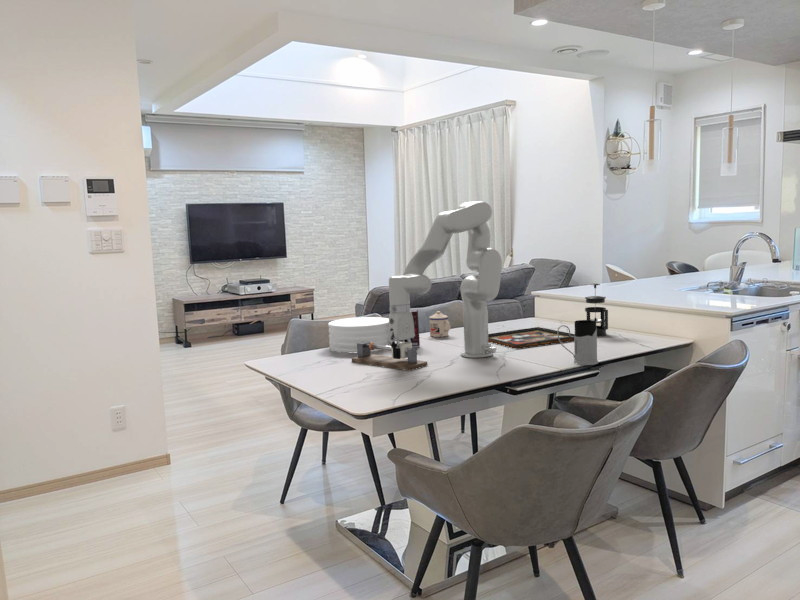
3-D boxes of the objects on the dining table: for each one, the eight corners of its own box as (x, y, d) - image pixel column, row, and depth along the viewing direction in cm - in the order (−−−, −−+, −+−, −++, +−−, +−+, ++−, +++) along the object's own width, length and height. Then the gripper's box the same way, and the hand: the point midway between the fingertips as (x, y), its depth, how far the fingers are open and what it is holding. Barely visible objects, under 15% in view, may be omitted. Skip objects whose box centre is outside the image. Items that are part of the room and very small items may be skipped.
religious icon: (532, 330, 305) (531, 324, 305) (588, 340, 275) (588, 333, 275) (469, 341, 285) (469, 335, 285) (523, 353, 256) (523, 346, 255)
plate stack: (319, 346, 285) (318, 321, 284) (375, 339, 299) (374, 315, 297) (345, 356, 261) (344, 328, 259) (404, 347, 274) (403, 321, 273)
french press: (579, 334, 287) (578, 283, 284) (593, 331, 292) (593, 282, 289) (599, 337, 277) (598, 285, 274) (614, 335, 282) (613, 283, 279)
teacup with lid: (425, 336, 300) (424, 311, 299) (439, 333, 306) (438, 309, 305) (443, 338, 291) (442, 313, 290) (457, 335, 297) (456, 311, 295)
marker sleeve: (412, 356, 236) (411, 342, 236) (403, 358, 233) (403, 345, 232) (400, 354, 240) (399, 341, 240) (391, 356, 236) (391, 343, 236)
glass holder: (599, 365, 224) (599, 323, 222) (558, 365, 226) (557, 323, 225) (596, 359, 232) (596, 319, 231) (557, 360, 235) (556, 320, 233)
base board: (427, 365, 235) (427, 361, 235) (410, 370, 228) (409, 366, 228) (369, 357, 255) (369, 353, 255) (351, 361, 248) (351, 358, 247)
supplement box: (420, 345, 276) (418, 309, 274) (419, 348, 271) (417, 311, 269) (400, 346, 276) (398, 310, 275) (399, 348, 272) (397, 311, 270)
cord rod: (418, 362, 234) (417, 346, 234) (410, 364, 231) (410, 348, 230) (365, 355, 252) (364, 340, 252) (357, 357, 249) (356, 342, 248)
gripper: (392, 312, 226) (394, 362, 228) (422, 306, 238) (424, 354, 240) (376, 311, 231) (379, 360, 233) (407, 305, 243) (409, 352, 245)
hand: (402, 356), depth 236 cm, fingers closed on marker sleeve, 5 cm apart
